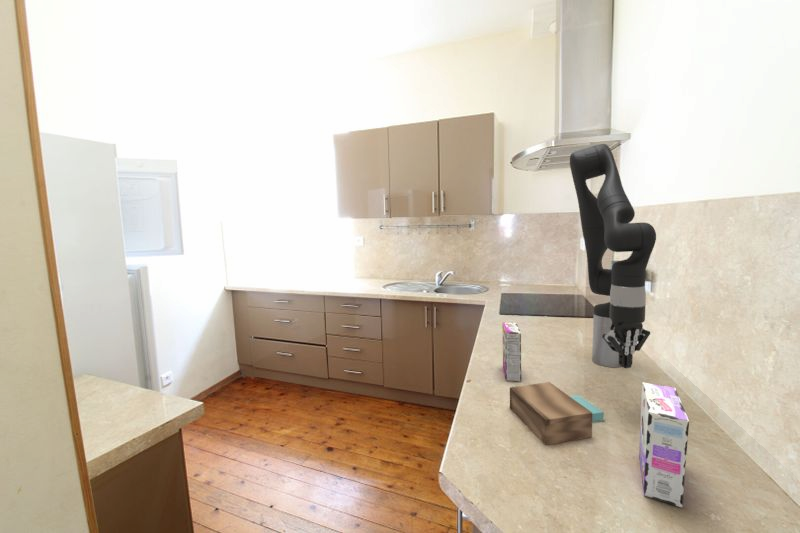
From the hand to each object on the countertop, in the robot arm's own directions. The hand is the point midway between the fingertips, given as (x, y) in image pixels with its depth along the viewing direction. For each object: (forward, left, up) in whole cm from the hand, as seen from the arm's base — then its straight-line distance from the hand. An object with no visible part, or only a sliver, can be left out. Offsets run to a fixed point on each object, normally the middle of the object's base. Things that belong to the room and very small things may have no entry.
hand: (625, 366), depth 88 cm
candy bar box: (+17, -27, -12) cm, 35 cm away
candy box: (+13, +22, -12) cm, 28 cm away
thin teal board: (+16, -2, -13) cm, 21 cm away
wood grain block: (+21, 0, -12) cm, 24 cm away
